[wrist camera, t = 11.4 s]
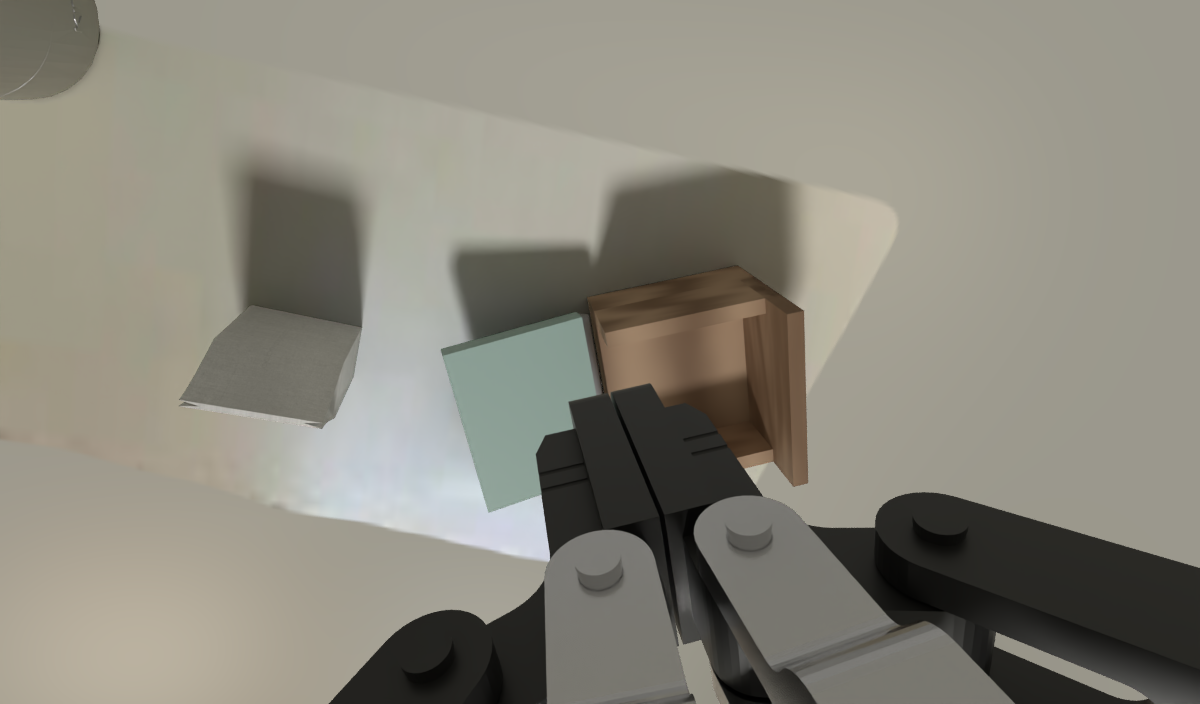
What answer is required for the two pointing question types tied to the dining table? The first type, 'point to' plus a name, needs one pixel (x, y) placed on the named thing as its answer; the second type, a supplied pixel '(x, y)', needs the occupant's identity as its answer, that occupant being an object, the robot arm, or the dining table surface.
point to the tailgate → (520, 398)
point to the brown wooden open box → (714, 358)
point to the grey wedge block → (277, 368)
